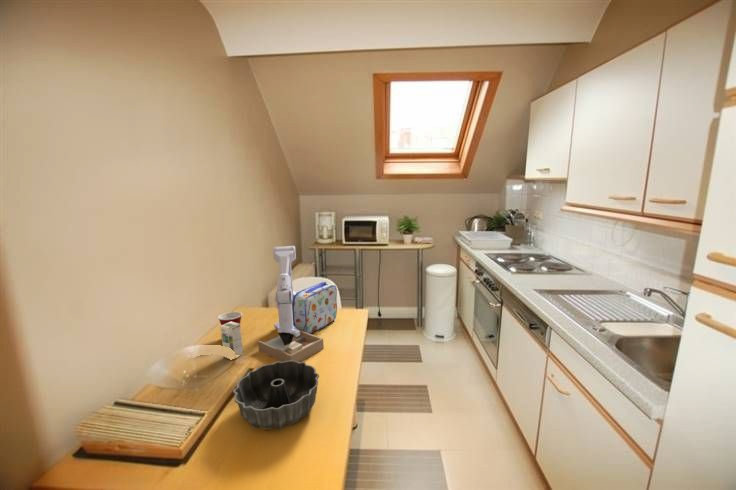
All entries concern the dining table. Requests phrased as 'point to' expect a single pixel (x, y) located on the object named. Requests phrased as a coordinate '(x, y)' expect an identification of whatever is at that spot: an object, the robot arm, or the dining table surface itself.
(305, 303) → the lunch box
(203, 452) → the dining table surface
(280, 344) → the divided box
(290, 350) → the ash block
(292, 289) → the robot arm
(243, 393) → the bundt pan
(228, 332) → the syrup box
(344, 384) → the dining table surface
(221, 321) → the plastic cup
